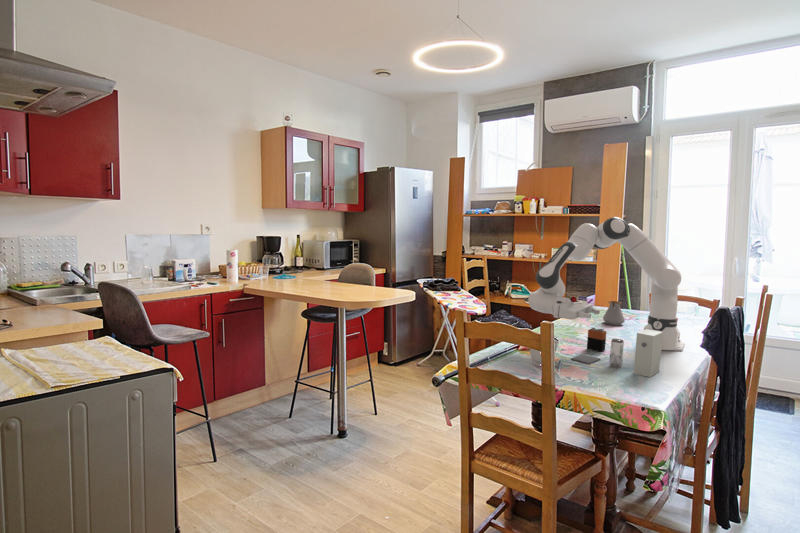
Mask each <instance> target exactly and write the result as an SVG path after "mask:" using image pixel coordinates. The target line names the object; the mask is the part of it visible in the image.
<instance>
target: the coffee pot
mask: <svg viewBox="0 0 800 533" xmlns="http://www.w3.org/2000/svg"><path fill="white" fill-rule="evenodd" d="M607 302H608V303H609V306H608V308H607V309H606V311H605V314H604V315H603V317H602V319H603V321H604V323H605V324H607V325H610V326H621V325H622V324H624V323H625V321H626V320H625V317H624V314H623V311H622V309H621V304H622V301H614V300H608V301H607Z"/></svg>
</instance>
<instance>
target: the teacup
mask: <svg viewBox="0 0 800 533" xmlns="http://www.w3.org/2000/svg"><path fill="white" fill-rule="evenodd" d="M559 344H560V342H559V340H558V339H555V354H556V352H557V348H558V345H559ZM529 352H530V358H531V359H532V361H533V362H534V366H536V367H540V364H541V354H540V351H537V350H534V349H530V348H529Z"/></svg>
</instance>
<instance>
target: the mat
mask: <svg viewBox="0 0 800 533" xmlns="http://www.w3.org/2000/svg"><path fill="white" fill-rule="evenodd" d="M570 360H571V361H574V362H579V363H583V364H585V365H592V364H594V363H596V362H598V361H601V357H596V356H592V355H587V354H583V353H581V354H579V355H576V356H573V357H571V358H570Z"/></svg>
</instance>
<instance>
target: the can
mask: <svg viewBox="0 0 800 533" xmlns="http://www.w3.org/2000/svg"><path fill="white" fill-rule="evenodd" d="M624 343H625V341H624V339H621V338H612V339H611V340H610V350H609V351H610V352H609V367H610V368H613V369H622V368H623V357H624V346H625V344H624Z"/></svg>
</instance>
